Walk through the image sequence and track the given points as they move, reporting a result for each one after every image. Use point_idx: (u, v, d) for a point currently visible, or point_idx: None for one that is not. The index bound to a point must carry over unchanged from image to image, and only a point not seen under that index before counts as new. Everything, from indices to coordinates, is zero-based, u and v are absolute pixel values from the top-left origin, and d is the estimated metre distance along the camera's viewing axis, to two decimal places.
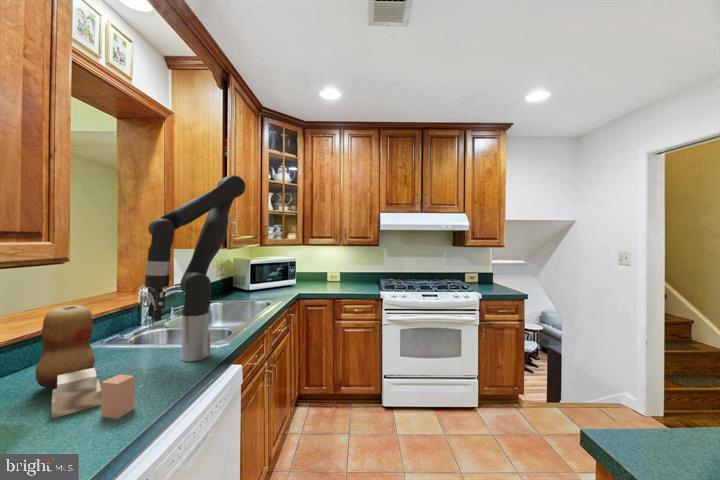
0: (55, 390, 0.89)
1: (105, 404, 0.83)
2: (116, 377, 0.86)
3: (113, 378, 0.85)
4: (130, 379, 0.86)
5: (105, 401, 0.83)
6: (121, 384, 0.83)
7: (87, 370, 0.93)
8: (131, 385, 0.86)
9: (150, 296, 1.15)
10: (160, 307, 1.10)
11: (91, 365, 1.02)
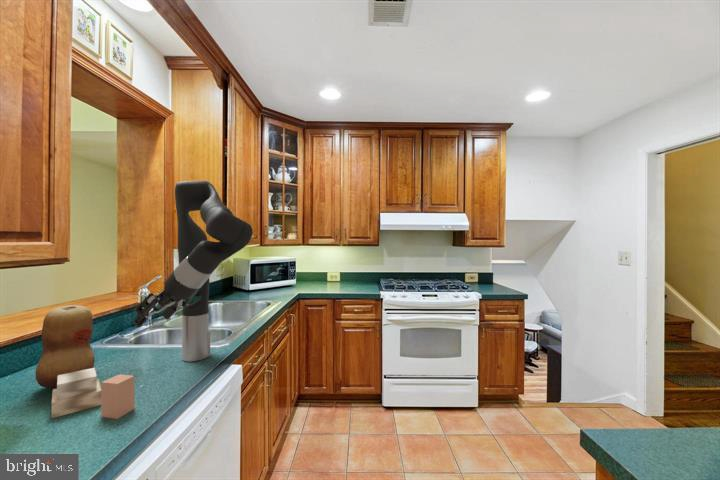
0: (55, 390, 0.89)
1: (105, 404, 0.83)
2: (116, 377, 0.86)
3: (113, 378, 0.85)
4: (130, 379, 0.86)
5: (105, 401, 0.83)
6: (121, 384, 0.83)
7: (87, 370, 0.93)
8: (131, 385, 0.86)
9: None
10: None
11: (91, 365, 1.02)
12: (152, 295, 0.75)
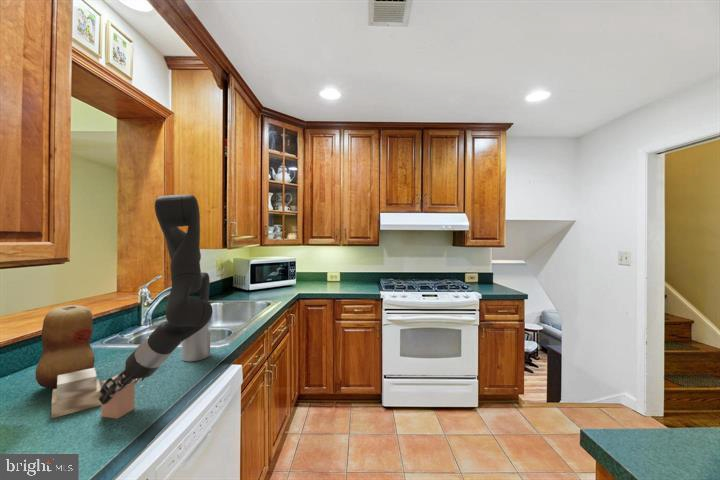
0: (55, 390, 0.89)
1: (105, 404, 0.83)
2: None
3: (113, 378, 0.85)
4: None
5: None
6: (121, 384, 0.83)
7: (87, 370, 0.93)
8: (131, 385, 0.86)
9: None
10: None
11: (91, 365, 1.02)
12: (109, 381, 0.78)
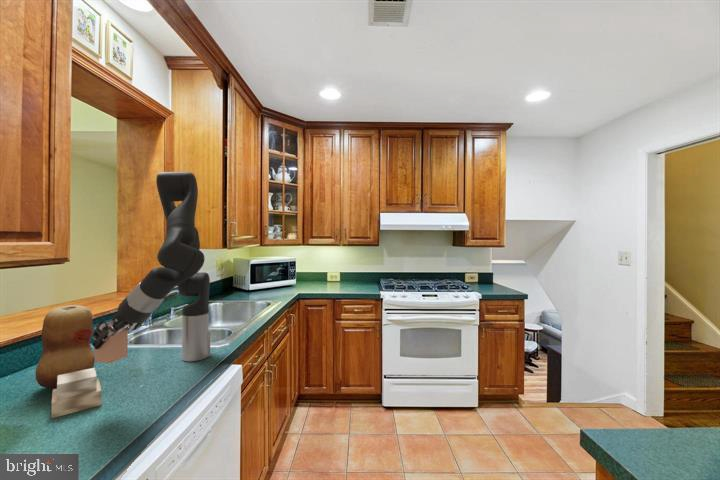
0: (55, 390, 0.89)
1: (98, 349, 0.84)
2: None
3: None
4: None
5: None
6: (114, 330, 0.84)
7: (87, 370, 0.93)
8: (124, 332, 0.87)
9: None
10: None
11: (91, 365, 1.02)
12: (102, 323, 0.79)
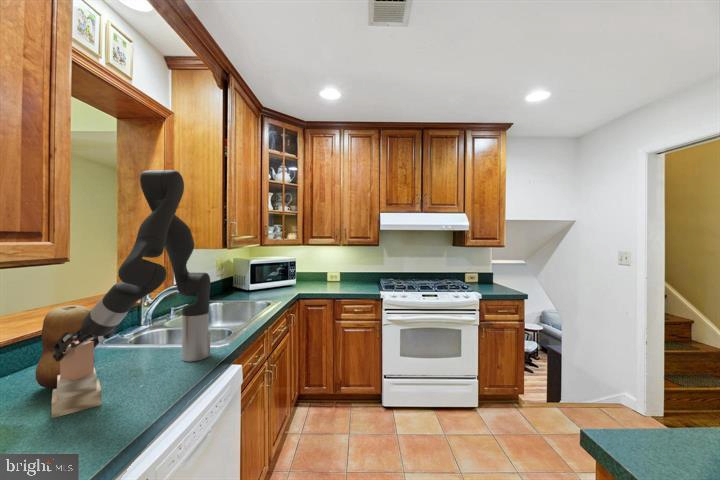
0: (55, 390, 0.89)
1: (64, 367, 0.87)
2: (75, 342, 0.90)
3: None
4: (89, 344, 0.90)
5: (63, 363, 0.87)
6: (80, 348, 0.87)
7: None
8: (90, 350, 0.90)
9: None
10: None
11: None
12: (67, 334, 0.82)
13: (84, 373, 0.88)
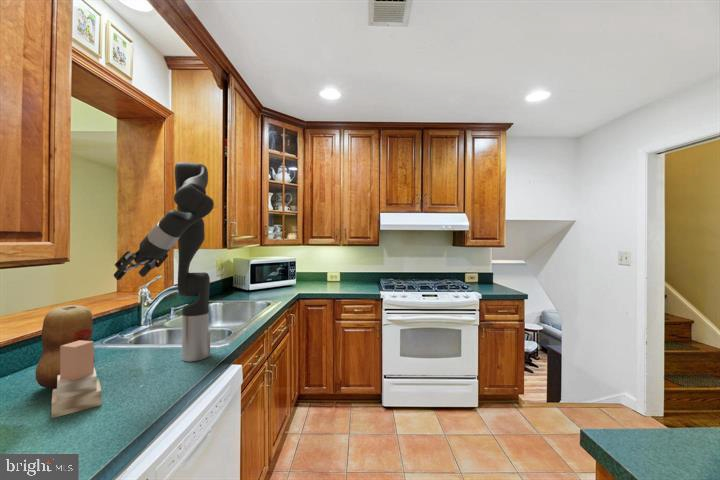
0: (55, 390, 0.89)
1: (64, 367, 0.87)
2: (75, 342, 0.90)
3: (73, 343, 0.89)
4: (89, 344, 0.90)
5: (63, 363, 0.87)
6: (80, 348, 0.87)
7: None
8: (90, 350, 0.90)
9: None
10: None
11: None
12: (129, 253, 0.92)
13: (84, 373, 0.88)
